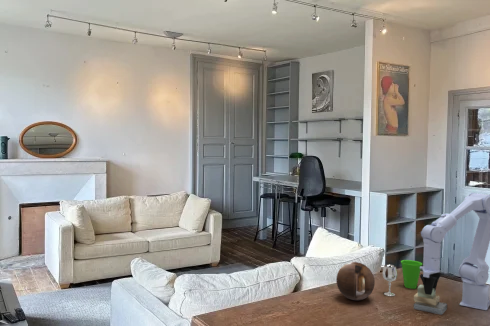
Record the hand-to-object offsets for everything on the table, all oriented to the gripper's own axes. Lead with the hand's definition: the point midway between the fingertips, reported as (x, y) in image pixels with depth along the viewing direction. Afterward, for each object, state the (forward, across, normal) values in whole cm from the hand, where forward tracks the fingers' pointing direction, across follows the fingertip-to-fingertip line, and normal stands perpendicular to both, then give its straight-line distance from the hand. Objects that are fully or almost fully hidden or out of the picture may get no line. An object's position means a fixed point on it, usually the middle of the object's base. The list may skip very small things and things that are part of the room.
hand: (430, 292), depth 163 cm
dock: (+6, -1, 0) cm, 6 cm away
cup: (+6, -24, -14) cm, 28 cm away
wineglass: (+7, -8, -18) cm, 21 cm away
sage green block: (+4, -3, -2) cm, 5 cm away
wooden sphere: (+7, +7, -27) cm, 29 cm away
